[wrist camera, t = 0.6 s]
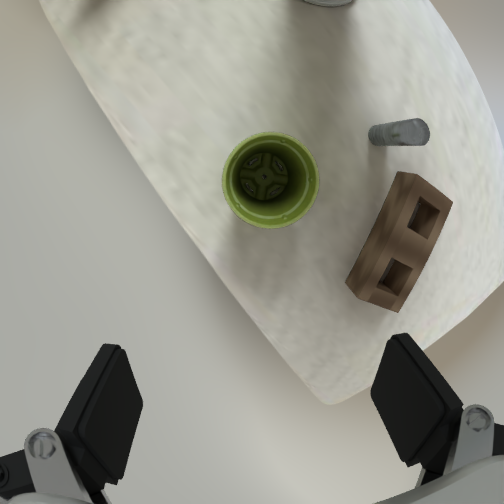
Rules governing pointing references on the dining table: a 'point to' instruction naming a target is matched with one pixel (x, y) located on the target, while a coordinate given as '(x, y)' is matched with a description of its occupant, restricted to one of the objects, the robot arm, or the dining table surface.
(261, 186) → the plant pot
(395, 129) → the pin
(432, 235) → the socket block
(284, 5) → the dining table surface
